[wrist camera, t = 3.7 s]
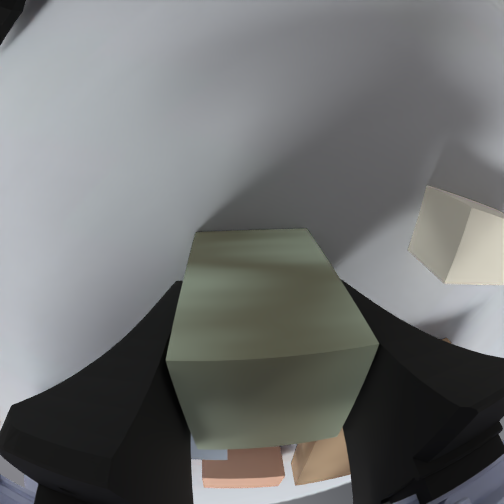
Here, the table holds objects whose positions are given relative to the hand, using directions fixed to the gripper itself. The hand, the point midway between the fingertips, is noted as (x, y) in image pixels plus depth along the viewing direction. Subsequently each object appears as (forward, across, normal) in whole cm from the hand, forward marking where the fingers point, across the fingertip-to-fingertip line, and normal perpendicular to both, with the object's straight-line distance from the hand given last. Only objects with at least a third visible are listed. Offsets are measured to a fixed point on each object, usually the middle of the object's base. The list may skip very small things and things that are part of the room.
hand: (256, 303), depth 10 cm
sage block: (+2, 0, 0) cm, 2 cm away
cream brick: (+2, -10, -2) cm, 10 cm away
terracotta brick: (+2, +1, +17) cm, 17 cm away
